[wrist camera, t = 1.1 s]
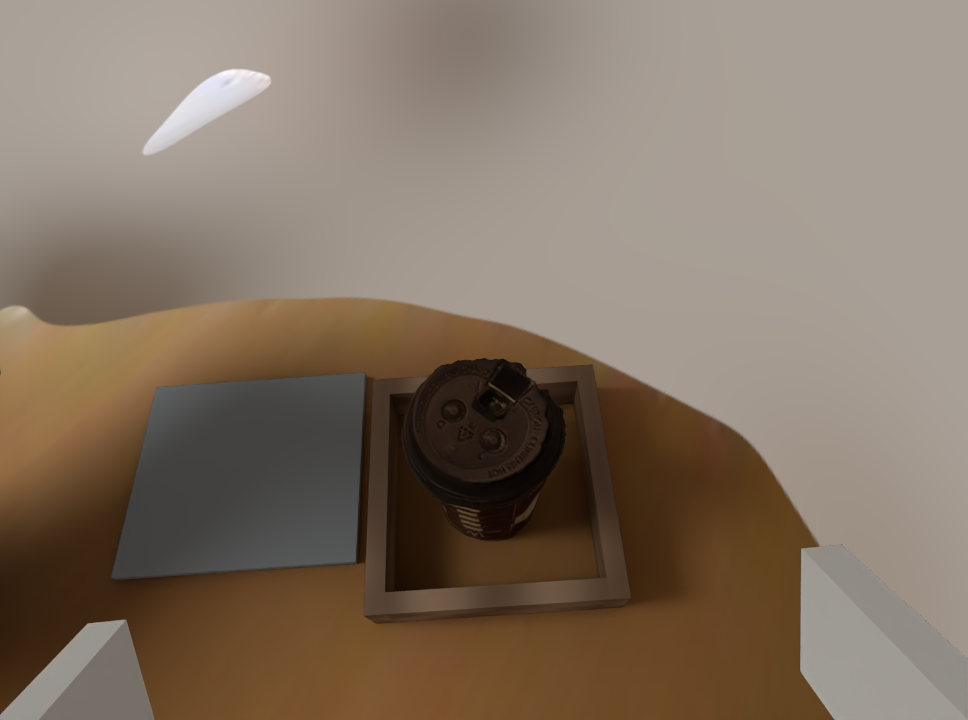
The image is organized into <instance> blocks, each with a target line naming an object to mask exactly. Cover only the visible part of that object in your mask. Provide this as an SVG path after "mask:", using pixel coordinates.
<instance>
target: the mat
mask: <svg viewBox="0 0 968 720" xmlns="http://www.w3.org/2000/svg"><path fill="white" fill-rule="evenodd" d="M365 397H366V374H365V372H364V373H350V374H336V375H321V376H307V377H293V378H279V379H265V380H250V381H236V382H222V383H208V384H194V385H179V386H165V387H156V391H155V395H154V399H153V404H152V408H151V412H150V416H149V420H148V424H147V429H146V433H145V437H144V441H143V445H142V450H141V454H140V458H139V462H138V466H137V471H136V475H135V479H134V483H133V487H132V491H131V496H130V500H129V504H128V508H127V512H126V517H125V521H124V525H123V529H122V533H121V538H120V542H119V546H118V550H117V554H116V558H115V563H114V567H113V571H112V575H111V578H112V579H115V580H121V579H136V578H151V577H166V576H181V575H196V574H211V573H226V572H241V571H256V570H271V569H286V568H301V567H316V566H330V565H345V564H358V549H359V527H360V506H361V484H362V462H363V441H364V419H365Z"/></svg>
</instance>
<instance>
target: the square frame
mask: <svg viewBox="0 0 968 720" xmlns="http://www.w3.org/2000/svg"><path fill="white" fill-rule="evenodd" d="M526 370H527V372H526V374H527V377H529V378H531V380H533V381H535V382H536V385H537V387H538V388H539V389H548V390H549V392H550V394H551V396H552V397H553V398H554V400H555V401H556V402H557V404H568V403H574V410H575V417H576V424H577V431H578V438H579V445H580V452H581V459H582V466H583V473H584V480H585V487H586V494H587V501H588V508H589V515H590V522H591V529H592V536H593V543H594V550H595V557H596V564H597V571H598V578H594V579H579V580H564V581H549V582H534V583H518V584H503V585H488V586H473V587H458V588H443V589H428V590H413V591H398V592H395V580H396V518H397V456H398V415H404V414H405V410H406V407H407V405H408V403H409V401H410V400H411V399H412V397H413V395H414V393H415V392H416V390H417V389H418V387H419V386H420V385H421V384H422V383H423V382H424V381H425V380H426V379H427V378H428V377H429V376H423V377H409V378H394V379H380V380H373V394H372V419H371V444H370V469H369V494H368V519H367V544H366V569H365V594H364V616H365V617H366V618H368V619H370V620H371V621H373V622H374V623H388V622H403V621H418V620H433V619H449V618H464V617H479V616H494V615H509V614H525V613H540V612H555V611H570V610H585V609H601V608H616V607H623V606H624V605H625V604H626V603H627V602H628V601H629V600H630V599H631V594H630V588H629V582H628V575H627V569H626V563H625V557H624V551H623V545H622V539H621V533H620V527H619V521H618V515H617V509H616V503H615V497H614V491H613V485H612V479H611V473H610V467H609V461H608V455H607V449H606V443H605V437H604V431H603V425H602V418H601V412H600V406H599V400H598V394H597V388H596V382H595V376H594V370H593V365H579V366H565V367H551V368H537V369H526Z"/></svg>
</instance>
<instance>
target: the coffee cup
mask: <svg viewBox="0 0 968 720" xmlns="http://www.w3.org/2000/svg"><path fill="white" fill-rule="evenodd" d="M526 372H527V370H526V369H525V368H524V367H523V365H522V364H520V363H515V362H513V363H510V362H508V361H507V360H504V359H499V360H498V359H494V360H487V359H486V358H483V359H476V360H473V361H471V360H461V361H459V360H458V361H456V362H454V363H453V364H446V365H441V366H440V367H438V368H437V369H436V370H435V371H434V372H433V373H432V374H431V375H429V377H428V378H427V379H426V380H425V381H424V382H423V383H422V384H421V385H420V386H419V387H418V389H417V390H416V392H415V393H414V395H413V397H412V399H411V400H410V401H409V403H408V405H407V407H406V410H405V414H404V421H403V427H402V443H403V450H404V453H405V455H406V459H407V463H408V466H409V468H410V469H411V471H412V473H413V475H414V476H415V478H416V479H417V481H418V483H419V484H420V486H421V487H422V488H423V489H425V490H426V491H427V492H428V493H429V494H431V495H432V496H433V497H435V498H436V499H437V500H438V501H439V502H440V503H441V504H442V505H443V508H444V510H445V514H446V518H447V519H448V521H449V522H450V523H451V524H452V525H453V526H454V527H455V528H456V529H457V530H459V531H460V532H462V533H463V534H465V535H467V536H469V537H472V538H476V539H480V540H486V541H496V540H501V539H507V538H509V537H511V536H513V535H515V534H516V533H517V532H518V531H519V530H520V529H521V528H522V527H523V526H524V525H525V524H526V523H527V522H528V521H529V519H530V517H531V515H532V512H533V509H534V506H535V504H536V501H537V499H538V496H539V494H540V491H541V490H542V488H543V486H544V484H545V482H546V479H547V477H548V476H549V475H550V473H551V471H552V470H553V469H554V467H555V465H556V463H557V462H558V461H559V458H560V456H561V454H562V453H563V449H564V443H565V435H566V434H565V421H564V419H563V409H562V408H560V407H559V406H558V405H557V402H556V401H555V400H554V398H553V397H552V396H551V394H550V392H549V390H548V389H539V388H538V387H537V385H536V382H535V381H533V380H531V378H529V377H527V374H526Z"/></svg>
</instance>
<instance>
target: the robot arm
mask: <svg viewBox="0 0 968 720" xmlns="http://www.w3.org/2000/svg"><path fill="white" fill-rule="evenodd" d="M0 373H1V372H0ZM800 671H801V673H802V674H803V676H804V677H805V679H806V680H807V681H808V683H809V684H810V686H811V687H812V688H813V690H814V691H815V693H816V694H817V696H818V697H819V698H820V700H821V701H822V703H823V704H824V705H825V707H826V708H827V710H828V711H829V713H830V714H831V715H832V717H833V718H834V720H968V658H966V657H965V656H964V655H963V654H962V653H961V652H960V651H959V650H958V649H956V648H955V647H954V646H953V645H952V644H951V643H950V642H949V641H948V640H947V639H945V638H944V637H943V636H942V635H941V634H940V633H939V632H937V630H935V629H934V628H933V627H932V626H931V625H930V624H929V623H928V622H927V621H926V620H924V619H923V618H922V617H921V616H920V615H919V614H918V613H917V612H916V611H914V610H913V609H912V608H911V607H910V606H909V605H908V604H907V603H906V602H904V601H903V600H902V599H901V598H900V597H899V596H898V595H897V594H896V593H895V592H893V591H892V590H891V589H890V588H889V587H888V586H887V585H886V584H885V583H884V582H882V581H881V580H880V579H879V578H878V577H877V576H876V575H875V574H873V572H871V571H870V570H869V569H868V568H867V567H866V566H865V565H864V564H862V563H861V562H860V561H859V560H858V559H857V558H856V557H855V556H854V555H852V553H850V552H849V551H848V550H847V549H846V548H845V547H844V546H843V545H842V544H841V545H832V546H822V547H812V548H803V549H801V656H800ZM0 720H154V716H153V713H152V709H151V705H150V702H149V698H148V695H147V691H146V688H145V684H144V681H143V677H142V673H141V670H140V666H139V663H138V659H137V656H136V652H135V649H134V645H133V642H132V638H131V634H130V631H129V627H128V624H127V620H116V621H107V622H97V623H88V624H87V625H86V626H85V627H84V628H83V629H82V630H81V631H80V632H79V633H78V634H77V635H76V636H75V637H74V638H73V639H72V640H71V641H70V642H69V644H68V645H67V646H66V647H65V648H64V649H63V650H62V651H61V652H60V653H59V654H58V655H57V656H56V657H55V658H54V659H53V660H52V661H51V662H50V663H49V664H48V665H47V666H46V668H45V669H44V670H43V671H42V672H41V673H40V674H39V675H38V676H37V677H36V678H35V679H34V680H33V681H32V682H31V683H30V684H29V685H28V686H27V687H26V688H25V689H24V690H23V691H22V693H21V694H20V695H19V696H18V697H17V698H16V699H15V700H14V701H13V702H12V703H11V704H10V705H9V706H8V707H7V708H6V709H5V710H4V711H3V712H2V713H1V714H0Z"/></svg>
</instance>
